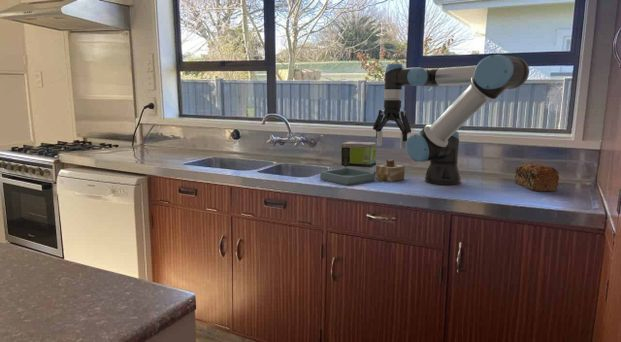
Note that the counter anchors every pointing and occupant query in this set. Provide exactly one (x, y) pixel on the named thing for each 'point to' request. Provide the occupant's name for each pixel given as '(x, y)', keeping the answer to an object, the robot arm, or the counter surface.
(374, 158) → the tea box
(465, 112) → the robot arm
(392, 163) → the post
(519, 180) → the bread
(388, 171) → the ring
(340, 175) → the tray
